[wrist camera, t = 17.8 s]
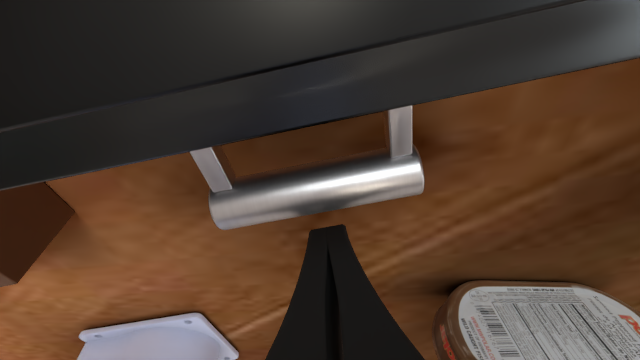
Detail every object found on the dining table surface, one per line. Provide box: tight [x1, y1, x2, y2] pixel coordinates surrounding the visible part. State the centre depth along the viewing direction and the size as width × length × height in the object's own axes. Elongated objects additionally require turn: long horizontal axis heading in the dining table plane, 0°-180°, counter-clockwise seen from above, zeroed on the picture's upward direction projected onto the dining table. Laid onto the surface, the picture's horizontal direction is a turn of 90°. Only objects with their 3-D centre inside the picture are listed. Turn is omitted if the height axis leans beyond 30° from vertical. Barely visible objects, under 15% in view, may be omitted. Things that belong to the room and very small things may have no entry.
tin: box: [432, 280, 640, 360], centre depth 19 cm, size 15×3×8 cm, turn 83°
